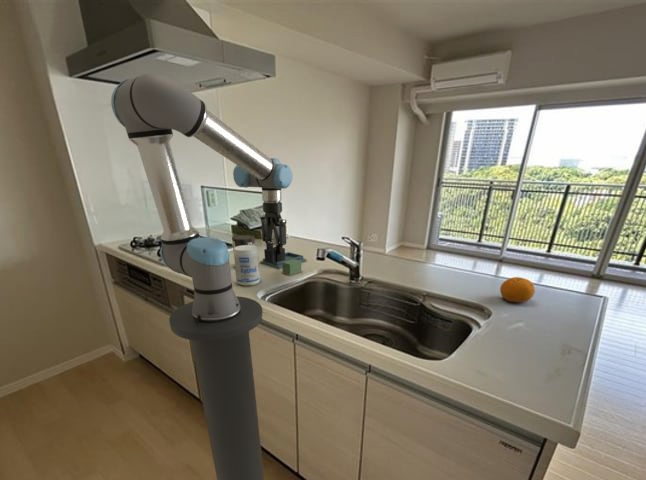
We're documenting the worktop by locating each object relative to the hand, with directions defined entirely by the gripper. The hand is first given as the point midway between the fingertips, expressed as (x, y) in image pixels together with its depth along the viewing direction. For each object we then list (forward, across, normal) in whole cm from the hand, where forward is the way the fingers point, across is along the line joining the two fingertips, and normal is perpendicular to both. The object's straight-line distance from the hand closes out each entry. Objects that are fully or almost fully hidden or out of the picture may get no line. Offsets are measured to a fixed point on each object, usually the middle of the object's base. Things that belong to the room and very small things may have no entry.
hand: (274, 259), depth 141 cm
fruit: (+8, -82, -42) cm, 92 cm away
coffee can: (+8, +24, -2) cm, 26 cm away
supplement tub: (+9, +4, +11) cm, 15 cm away
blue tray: (+8, +16, -19) cm, 26 cm away
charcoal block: (0, 0, 0) cm, 0 cm away
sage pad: (+8, +1, -10) cm, 13 cm away
